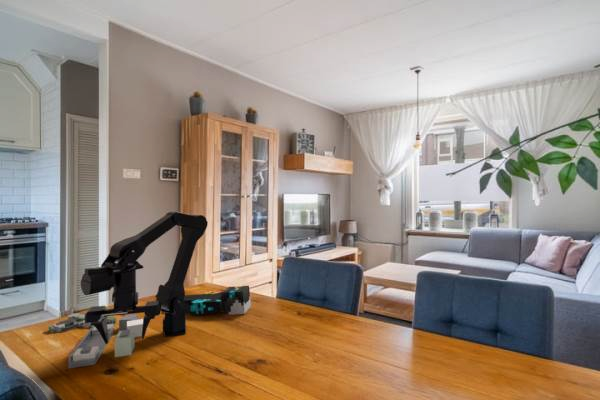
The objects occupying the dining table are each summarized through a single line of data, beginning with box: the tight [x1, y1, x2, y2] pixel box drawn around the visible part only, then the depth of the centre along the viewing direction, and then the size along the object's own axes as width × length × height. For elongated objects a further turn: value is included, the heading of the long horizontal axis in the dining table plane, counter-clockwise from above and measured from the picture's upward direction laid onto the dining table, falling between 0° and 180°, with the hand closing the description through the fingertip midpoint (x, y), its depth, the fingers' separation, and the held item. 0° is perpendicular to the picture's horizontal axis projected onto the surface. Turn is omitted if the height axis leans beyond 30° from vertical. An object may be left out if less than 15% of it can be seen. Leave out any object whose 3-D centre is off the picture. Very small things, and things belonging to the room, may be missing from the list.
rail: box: [67, 324, 115, 369], centre depth 96 cm, size 6×22×3 cm, turn 18°
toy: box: [184, 285, 252, 315], centre depth 129 cm, size 15×8×30 cm
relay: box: [127, 318, 143, 338], centre depth 105 cm, size 5×5×4 cm
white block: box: [118, 313, 139, 332], centre depth 110 cm, size 4×5×4 cm
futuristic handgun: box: [48, 312, 117, 334], centre depth 113 cm, size 3×19×15 cm
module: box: [114, 329, 136, 358], centre depth 94 cm, size 4×6×5 cm, turn 18°
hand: (125, 341), depth 94 cm, fingers open, 9 cm apart
